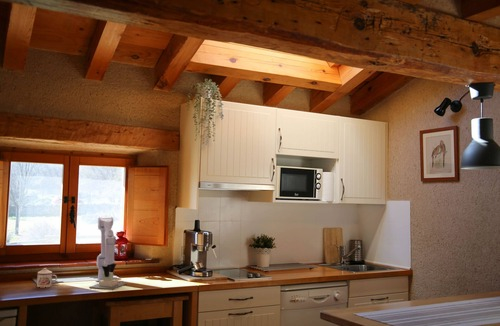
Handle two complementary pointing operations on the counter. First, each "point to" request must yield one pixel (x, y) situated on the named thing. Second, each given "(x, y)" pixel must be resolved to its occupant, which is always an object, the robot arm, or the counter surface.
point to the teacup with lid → (45, 278)
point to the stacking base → (108, 285)
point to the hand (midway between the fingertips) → (108, 275)
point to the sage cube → (108, 277)
